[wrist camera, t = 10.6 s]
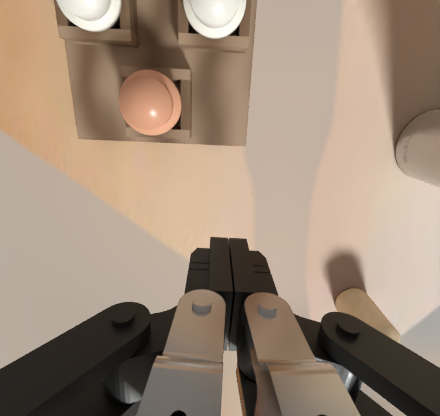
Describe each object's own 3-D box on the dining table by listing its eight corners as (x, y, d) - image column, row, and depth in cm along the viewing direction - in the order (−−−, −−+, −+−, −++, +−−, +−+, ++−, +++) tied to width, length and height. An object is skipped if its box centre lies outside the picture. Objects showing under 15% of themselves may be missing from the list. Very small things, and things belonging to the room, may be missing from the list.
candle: (332, 291, 44) (364, 341, 35) (366, 284, 44) (407, 331, 35) (336, 317, 46) (367, 370, 37) (368, 309, 46) (408, 361, 37)
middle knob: (184, 75, 29) (177, 68, 23) (184, 133, 31) (178, 138, 26) (128, 72, 29) (108, 64, 23) (132, 131, 31) (114, 136, 25)
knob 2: (244, -19, 28) (251, -50, 23) (240, 46, 30) (246, 33, 25) (186, -23, 28) (180, -54, 23) (186, 43, 30) (180, 29, 25)
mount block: (257, -34, 29) (265, -58, 25) (244, 144, 36) (248, 149, 32) (60, -48, 28) (33, -75, 24) (83, 137, 35) (66, 141, 31)
